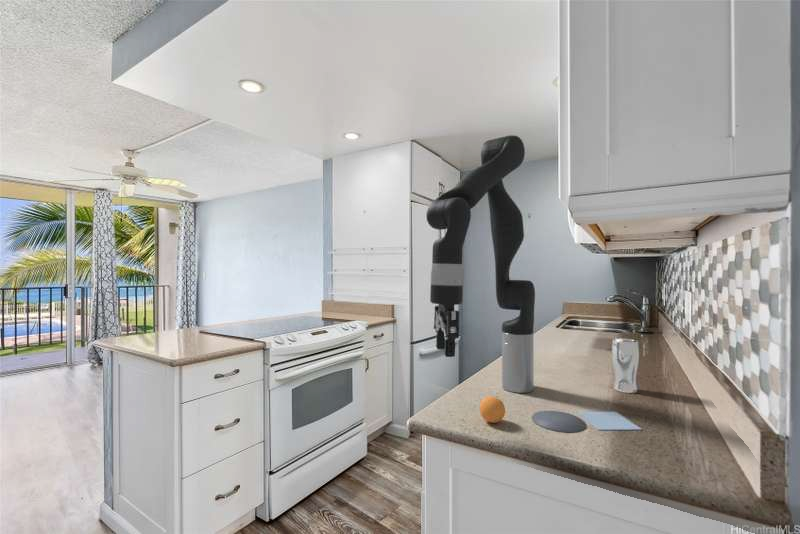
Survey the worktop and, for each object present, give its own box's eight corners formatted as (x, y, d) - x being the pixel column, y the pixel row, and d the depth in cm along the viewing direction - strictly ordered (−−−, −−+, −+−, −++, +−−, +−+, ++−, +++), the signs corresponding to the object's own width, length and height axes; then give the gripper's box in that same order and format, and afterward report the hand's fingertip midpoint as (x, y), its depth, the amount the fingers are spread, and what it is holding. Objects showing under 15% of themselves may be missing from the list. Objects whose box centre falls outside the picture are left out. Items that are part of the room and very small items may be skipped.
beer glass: (638, 388, 113) (638, 339, 113) (639, 395, 107) (639, 343, 107) (612, 384, 116) (611, 337, 116) (611, 391, 110) (611, 341, 110)
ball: (477, 416, 92) (477, 392, 92) (501, 416, 92) (501, 392, 92) (482, 427, 86) (482, 401, 86) (508, 427, 86) (508, 401, 86)
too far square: (576, 412, 94) (576, 412, 94) (615, 412, 94) (615, 411, 94) (598, 430, 84) (598, 429, 84) (641, 429, 84) (641, 429, 84)
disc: (524, 411, 95) (524, 410, 95) (571, 411, 95) (571, 410, 95) (543, 432, 83) (543, 431, 83) (596, 432, 83) (596, 431, 83)
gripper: (471, 284, 80) (469, 359, 80) (454, 283, 94) (452, 346, 94) (437, 283, 79) (435, 359, 79) (425, 282, 93) (423, 346, 93)
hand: (445, 352), depth 86 cm, fingers open, 8 cm apart
